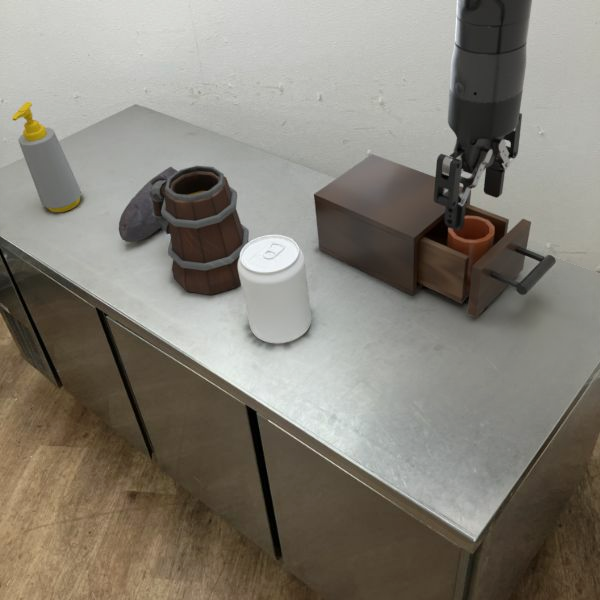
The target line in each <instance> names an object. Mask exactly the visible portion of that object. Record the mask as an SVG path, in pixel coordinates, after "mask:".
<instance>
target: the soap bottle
mask: <svg viewBox="0 0 600 600" xmlns="http://www.w3.org/2000/svg"><path fill="white" fill-rule="evenodd" d="M32 106H33V103H32V102H31V101H26V102H25V103H23V104H22V105H21V107H20V108H19V109H18V110H17V111H16V112H15V113H14V114H13V116H12V117H11V119H12V121H17V120H18V119H20V118H23V119H24V120H25V121H26V122H24V124H23V128H24V129H23V131H22V134H21V135H20V136H19V138H18V139H17V140H18V144H19V147H20V149H21V152H22V154H23V157H24V161H25V162H26V166H27V168H28V171H29V173H30V176H31V178H32V181H33V184H34V186H35V189H36V192H37V194H38V197H39V201H40V203H41V205H42V206H44V207H45V208H47V210H49V211H50V212H52V213H64V212H67V211H70V210H72V209H74V208H76V207H77V206H78V205H79V204H80V201H81V196H82V190H81V188H80V185H79V183H78V181H77V178H76V176H75V174H74V172H73V170H72V167H71V165H70V163H69V161H68V158H67V157H66V153H65V151H64V150H63V147H62V145H61V143H60V141H59V139H58V136H57V134H56V132H55V130H54V129H52V128H50V127H46V126H45V125H43V124H40V123H39V120H36V119H33V117H34V115H33V113H32V110H31V107H32Z"/></svg>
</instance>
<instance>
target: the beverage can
mask: <svg viewBox="0 0 600 600" xmlns="http://www.w3.org/2000/svg"><path fill="white" fill-rule="evenodd" d="M238 272H239V277H240V282H241V284H240V286H241V291H242V295H243V301H244V305H245V309H246V313H247V319H248V323H249V327H250V331H251V332H252V333H253V334H254V336H255V337H256V338H258V339H259V340H261V341H264V342H265V343H271V344H284V343H290V342H292V341H295V340H297V339H298V338H300V337H301V336H303V335H304V334H305V333H306V332H307V331H308V330H309V328H310V326H311V325H312V311H311V303H310V293H309V286H308V278H307V277H308V276H307V268H306V260H305V255H304V253H303V251H302V249H301V248H300V247H299V244H298V243H297V242H296V241H295V240H294V239H292V238H291V237H288V236H285V235H282V234H265V235H262V236H258V237H255V238H253V239H251V240H250V241H249V242H248V243H247V244H246V245H245V246H244V247H243V248H242V250H241V252H240V258H239V260H238Z"/></svg>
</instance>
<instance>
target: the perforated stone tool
mask: <svg viewBox="0 0 600 600" xmlns="http://www.w3.org/2000/svg"><path fill="white" fill-rule="evenodd" d="M178 171H179V170H177V169H175V168H174V167H173V166H170V167H168V168H166V169H164V170H163V171H162V172H160V173H158V174H157V175H156V176H154V177H153V178H151V179H149V181H147V183H146V184H145V185H143V186H142V187H141V188H140V189H139V191H137V193H136V194H135V195H134V196H133V197H132V198H131V200H130V201H129V202H128V204H127V205H126V206H125V208H124V210H123V211H122V213H121V215H120V218H119V222H118V232H119V233H118V234H119V236H120V238H121V239H122V241H124V242H126V243H136V242H139V241H143V240H145V239H147V238H148V237H150V236H151V235H153V234H154V233H155V232H157V231H158V230H160V229H162V228H161V227H160V226H159V225H158V224H157V222H156V221H155V219H154V217H153V215H152V214H153V211H154V207H153V201H152V199H151V198H150V197H149V194H150V191H151V187H152V185H153V184H154V183H156V182H157V181H160V180H162V181H164V180H166V181H167V180H168V178H169V177H171V176H172V175H174V174H175V173H176V172H178Z"/></svg>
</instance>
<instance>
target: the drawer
mask: <svg viewBox="0 0 600 600" xmlns="http://www.w3.org/2000/svg"><path fill="white" fill-rule="evenodd" d="M465 216H479V217H482V218H484V219H487V220H489V221H490V222H491V223H492V225H493V226H494V227H495V228H494V240H493V247H492V248H491V249H490V250H489V251H488V252H487V253H486V254H485V255H484V256H483V257H482V258H480V259H479V260H478V261H477V262H476V263H475V264H474V265H473V267H472V276H471V285H466V282H467V273H468V263H469V256H467V255H465V254H463V253H460V252H458V251H456V250H453V249H451V248H449V247H447V239H448V227H447V226H446V225H445V218H444V219H442V220H441V221H440V222H439V223H438V224H437V225H435V226H434V227H433V228H432V229H431V230H429V231H428V232H427V233H426V234H425V235H423V236H422V237H421V238H420V239H419V240H418V259H417V282H418V283H420V284H422V285H424V286H423V287H426V288H428V289H430V290H432V291H434V292H437V293H438V294H441V295H443V296H445V297H446V298H450V299H451V300H453V301H455V302H458V303H460V304H462V303H464V302H465V301H466V300H467V299H468V305H467V315H468V316H471V317H473V318H475V319H476V318H478V316H479V315H480V314H481V313H482V312H483V311H484V310H485V309H486V308H487V307H488V306H489V305H490V304H491V303H492V302H493V301H494V300H495V299H496V298H497V297H498V296H499V295H500V294H501V292H502V291H503V290H504V289H506V288H507V287H508V286H510V287H512V288H515V289H516V292H517V293H518V294H519V295H522V296H524V295H527V294H528V293H529V292H530V291H531V289H532V288H534V286H535V285H536V284H537V283H538V282H540V280H541V279H542V278H543V277H544V276H545V275H546V273H548V271H550V269H551V268H552V267H553V266H554V265H555V264H556V260H557V259H556V257H554V256H553V255H552V254H547V255H545V256H544V255H542V254H540V253H537V252H534V251H532V250H530V249H527V247H528V243H529V236H530V231H531V226H532V221H530V220H527V219H525V218H522V219H521V220H519V221H518V222H517V223H516V224H515V225H514V226H513V227H512V228H511V229H510V230H509V231H508V229H509V222H510V219H509V218H507V217H504V216H501V215H498V214H496V213H494V212H490V211H488V210H486V209H482V208H480V207H477V206H474V205H473V204H471V203H470V204H467V203H466V209H465ZM526 257H528V258H529V259H532V260H534V261H537V262H538V264H537V265H535V267H533V269H532V270H531V271H529V273H528V274H527V275H526V276H525V277H524V278H523V279H522V280H521V281H518V280H515V279H516V277H518V275H519V274H520V273H521V272H523V270H524V266H525V260H526Z"/></svg>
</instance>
